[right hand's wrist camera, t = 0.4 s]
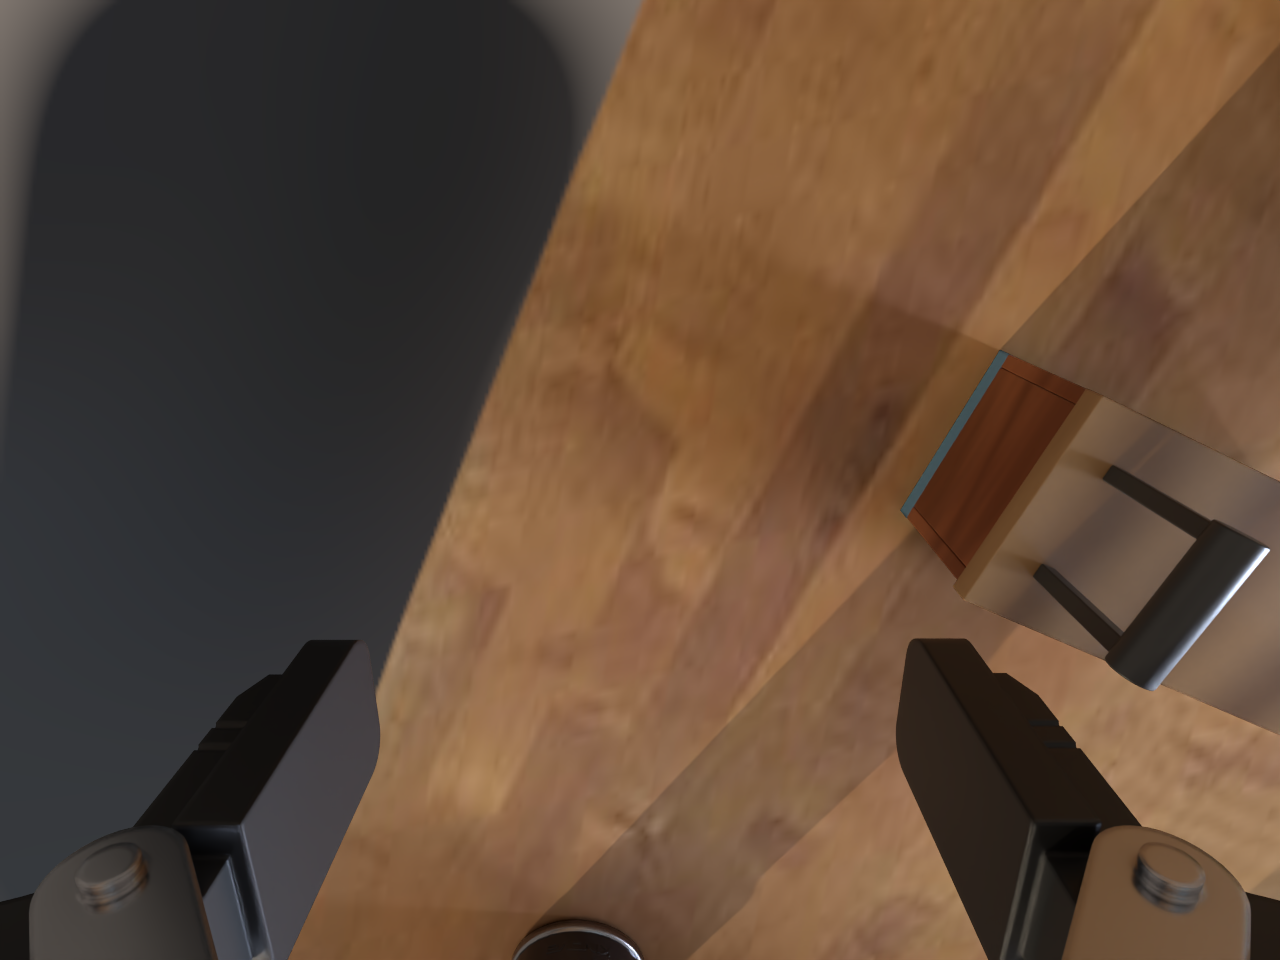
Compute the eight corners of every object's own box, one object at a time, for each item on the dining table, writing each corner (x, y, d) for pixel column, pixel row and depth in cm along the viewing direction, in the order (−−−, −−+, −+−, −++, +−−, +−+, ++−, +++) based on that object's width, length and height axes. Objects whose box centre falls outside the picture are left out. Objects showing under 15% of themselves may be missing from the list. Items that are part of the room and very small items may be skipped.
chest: (900, 510, 42) (966, 592, 33) (999, 349, 39) (1100, 394, 30) (1145, 618, 44) (1265, 720, 36) (1257, 475, 41) (1419, 550, 33)
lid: (952, 586, 33) (1049, 710, 25) (1085, 387, 30) (1244, 458, 22) (1266, 721, 36) (1444, 872, 28) (1419, 550, 32) (1669, 666, 25)
